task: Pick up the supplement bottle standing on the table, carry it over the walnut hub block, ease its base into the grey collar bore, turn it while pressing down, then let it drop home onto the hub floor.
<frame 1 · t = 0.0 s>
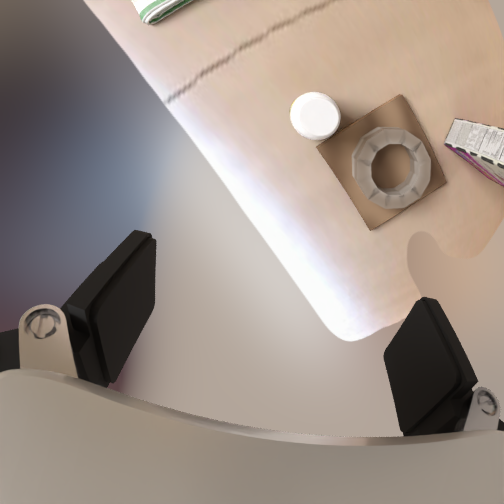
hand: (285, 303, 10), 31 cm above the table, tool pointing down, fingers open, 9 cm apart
candy bar box: (472, 147, 32), on the table
supplement bottle: (310, 113, 34), on the table
hub block: (385, 162, 36), on the table
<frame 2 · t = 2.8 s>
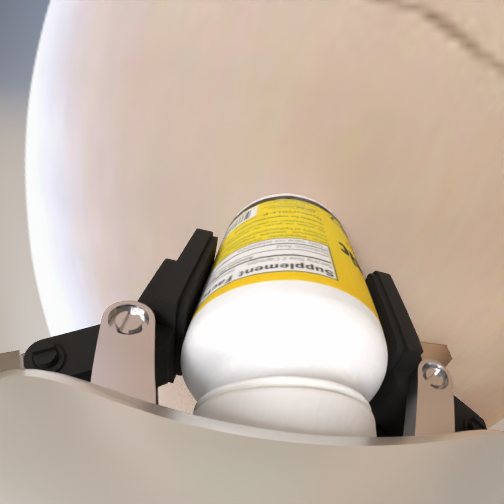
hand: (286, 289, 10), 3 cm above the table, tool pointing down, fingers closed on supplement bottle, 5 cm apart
supplement bottle: (286, 246, 13), on the table, touching gripper
hub block: (311, 399, 18), on the table
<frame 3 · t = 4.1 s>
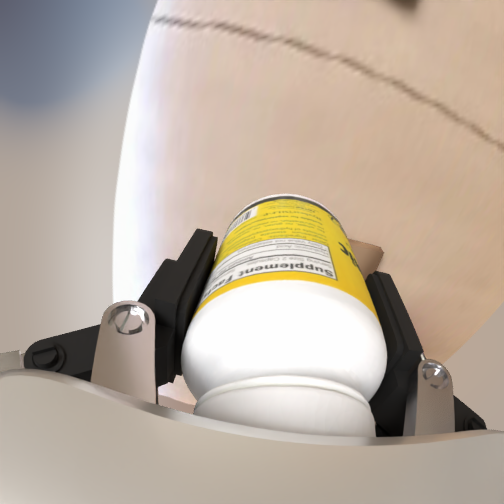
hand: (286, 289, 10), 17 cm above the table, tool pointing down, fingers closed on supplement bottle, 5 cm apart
supplement bottle: (286, 246, 13), point 14 cm above the table, touching gripper
hub block: (296, 289, 31), on the table
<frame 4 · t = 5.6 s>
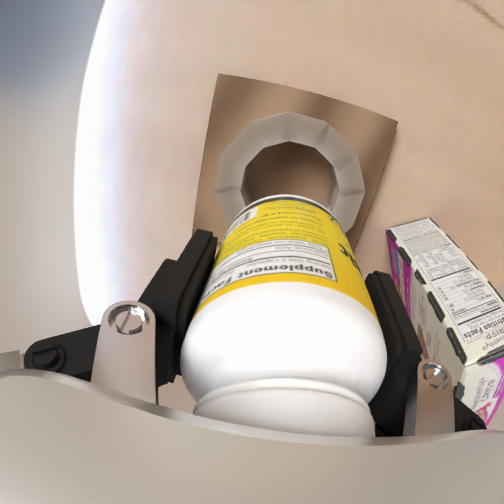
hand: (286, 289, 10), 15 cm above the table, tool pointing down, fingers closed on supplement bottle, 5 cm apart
candy bar box: (413, 267, 26), on the table
supplement bottle: (286, 247, 13), point 12 cm above the table, touching gripper
hub block: (289, 174, 23), on the table
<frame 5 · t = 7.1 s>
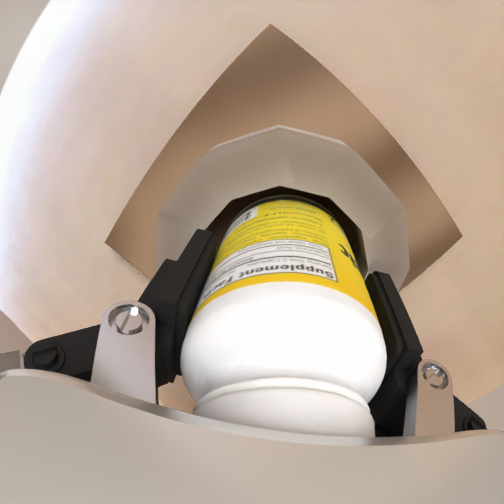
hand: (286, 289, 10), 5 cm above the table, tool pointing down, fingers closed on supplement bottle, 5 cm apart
supplement bottle: (286, 246, 13), point 2 cm above the table, touching gripper
hub block: (283, 227, 15), on the table
when the fingers open (5 cm above the table, at t = 8.4 s): supplement bottle stays where it is, resting on hub block.
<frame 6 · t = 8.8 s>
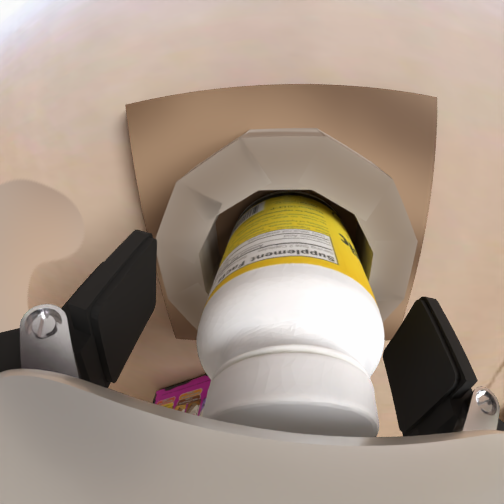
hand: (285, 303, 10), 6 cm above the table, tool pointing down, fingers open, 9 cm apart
candy bar box: (219, 389, 23), on the table
supplement bottle: (290, 240, 14), point 1 cm above the table, touching hub block
hub block: (286, 228, 15), on the table
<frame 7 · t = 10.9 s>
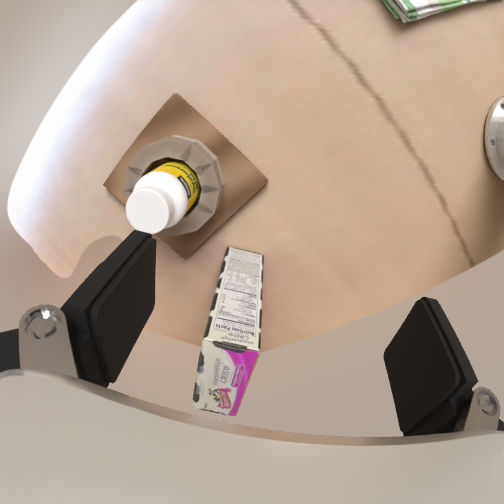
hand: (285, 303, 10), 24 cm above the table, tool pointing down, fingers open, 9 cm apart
candy bar box: (238, 283, 39), on the table
supplement bottle: (180, 181, 32), point 1 cm above the table, touching hub block
hub block: (180, 178, 33), on the table
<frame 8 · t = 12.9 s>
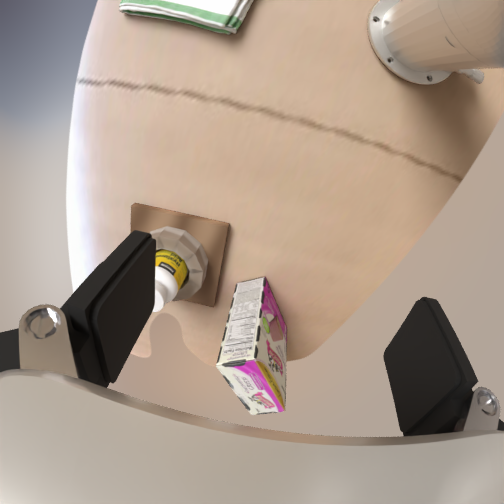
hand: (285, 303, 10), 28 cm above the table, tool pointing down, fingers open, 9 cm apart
candy bar box: (263, 305, 46), on the table
supplement bottle: (174, 258, 42), point 1 cm above the table, touching hub block
hub block: (175, 255, 43), on the table
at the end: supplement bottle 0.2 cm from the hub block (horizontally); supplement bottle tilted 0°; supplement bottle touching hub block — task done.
